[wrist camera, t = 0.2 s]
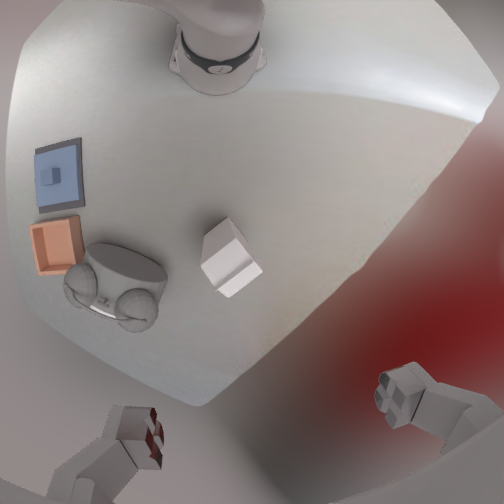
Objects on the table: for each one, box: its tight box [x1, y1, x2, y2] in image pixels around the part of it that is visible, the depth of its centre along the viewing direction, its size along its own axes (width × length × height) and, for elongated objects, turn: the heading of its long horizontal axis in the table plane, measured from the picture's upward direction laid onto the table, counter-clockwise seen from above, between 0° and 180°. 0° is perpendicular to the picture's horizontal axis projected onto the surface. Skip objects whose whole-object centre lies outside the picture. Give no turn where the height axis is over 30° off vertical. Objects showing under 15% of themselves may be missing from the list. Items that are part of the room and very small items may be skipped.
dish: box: [29, 215, 85, 276], centre depth 48 cm, size 11×11×5 cm
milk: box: [200, 217, 263, 298], centre depth 45 cm, size 6×6×22 cm
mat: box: [35, 137, 85, 214], centre depth 47 cm, size 14×12×1 cm
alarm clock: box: [63, 243, 168, 333], centre depth 44 cm, size 16×9×22 cm, turn 64°
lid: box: [34, 145, 81, 207], centre depth 44 cm, size 11×11×5 cm
